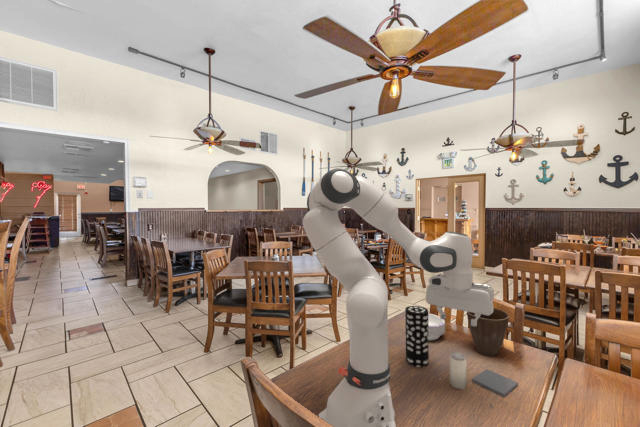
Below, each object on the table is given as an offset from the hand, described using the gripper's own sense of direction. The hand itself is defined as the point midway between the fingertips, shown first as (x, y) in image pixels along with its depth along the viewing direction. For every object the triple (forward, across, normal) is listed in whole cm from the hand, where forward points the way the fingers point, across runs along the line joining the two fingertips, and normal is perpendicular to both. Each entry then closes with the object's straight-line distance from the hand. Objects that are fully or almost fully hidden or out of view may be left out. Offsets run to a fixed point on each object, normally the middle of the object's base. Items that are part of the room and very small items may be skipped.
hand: (458, 322), depth 97 cm
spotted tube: (+21, +16, -6) cm, 27 cm away
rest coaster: (+21, -9, -8) cm, 24 cm away
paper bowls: (+21, +21, -30) cm, 42 cm away
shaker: (+21, 0, 0) cm, 21 cm away
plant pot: (+21, -3, -30) cm, 37 cm away
